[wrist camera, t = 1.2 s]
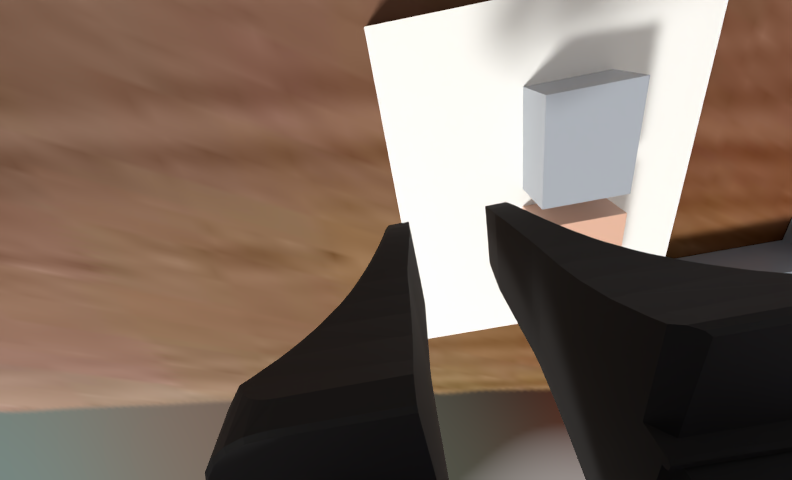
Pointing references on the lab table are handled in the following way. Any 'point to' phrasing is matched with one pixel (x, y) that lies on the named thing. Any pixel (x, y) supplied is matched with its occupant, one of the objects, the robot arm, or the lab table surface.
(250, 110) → the lab table surface
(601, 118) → the grey rectangular block
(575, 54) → the board
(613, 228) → the peach block
